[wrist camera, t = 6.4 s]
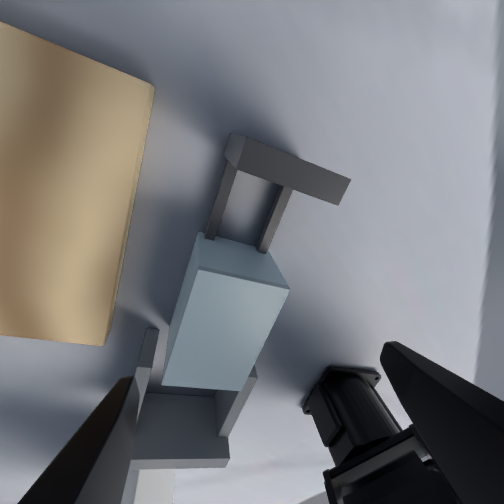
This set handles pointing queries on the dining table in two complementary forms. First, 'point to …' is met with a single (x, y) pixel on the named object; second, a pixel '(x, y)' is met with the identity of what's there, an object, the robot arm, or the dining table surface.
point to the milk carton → (149, 486)
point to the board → (65, 187)
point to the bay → (182, 422)
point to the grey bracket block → (237, 276)
